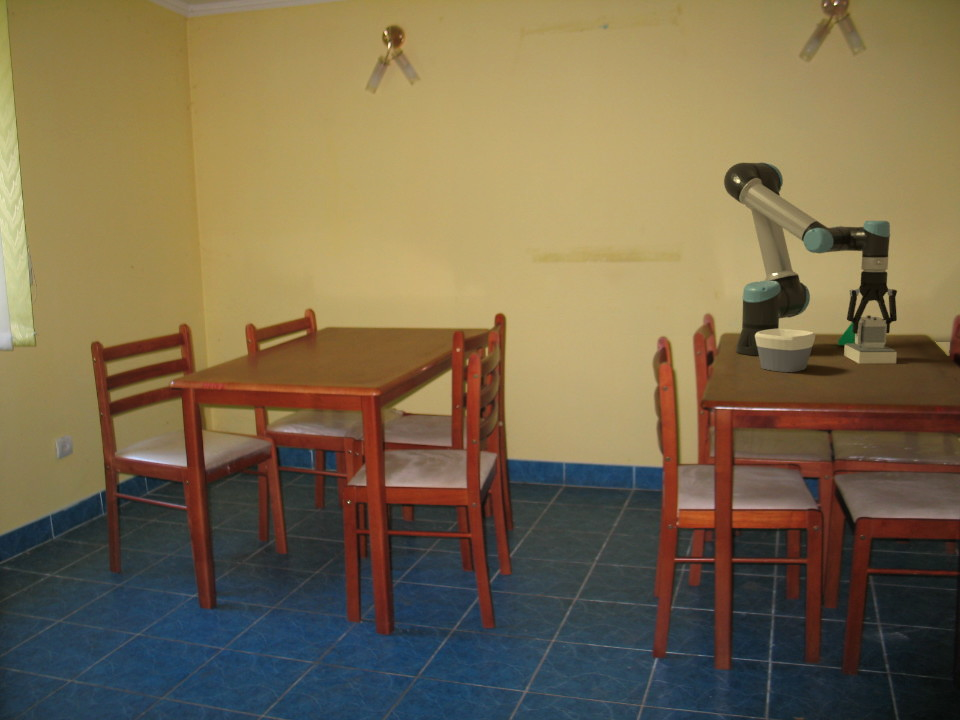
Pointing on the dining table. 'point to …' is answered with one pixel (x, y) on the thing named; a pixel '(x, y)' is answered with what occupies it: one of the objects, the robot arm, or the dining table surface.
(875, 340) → the housing
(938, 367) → the dining table surface
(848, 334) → the camera mount
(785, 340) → the bowl
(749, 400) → the dining table surface
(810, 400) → the dining table surface
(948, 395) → the dining table surface
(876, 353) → the plinth
